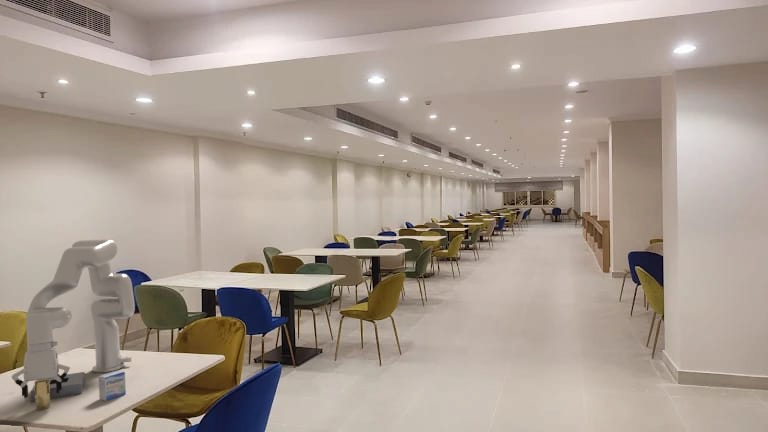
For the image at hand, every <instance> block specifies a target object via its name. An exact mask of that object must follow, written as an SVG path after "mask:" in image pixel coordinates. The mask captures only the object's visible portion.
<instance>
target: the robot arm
mask: <svg viewBox="0 0 768 432" xmlns="http://www.w3.org/2000/svg"><path fill="white" fill-rule="evenodd" d="M117 254H118V245H117V243H116V242H115V241H114V240H112V239H83V240H77V241H75V242H73V244H72V246H71V247H68V248H67V249H65V250H64V251H63V253H62V255H61V258H60V260H59V263H58V267H57V268H56V270H55V273H54V276H53V279H52V280H51V282H49V283H48V284H46V285H45V286H44V287H43V288H42V289H40V291H38V292H37V293H36V294H35V295H34V296H33V298H32V300H31V302H30V304H29V307H28V309H27V312H26V317H25V323H26V326H25V327H26V343H27V345H26V346H27V351H25V355H24V358H23V359H24V362H23V368H22V369H20V370H18V371H17V372H15V373H14V374H12V376H11V379H12V380H13V381H14V383H15V384H16V385H18V386H19V387H20V388H21V396H22V397H23V399H27V398H28V396H29V385H28V383H29V382H32V381H34V382H35V381H36V380H41V379H48V378H55V379H56V380H57V382H56V392H57V393H59V392H60V390H62V379H63V378H64V377H65V376H66V375H67V374H68V373H69V371H70V369H71V368H70V366H68V365H64V364H61V363H59V357H58V351H57V349H56V346H59V345H58V341H54V339H53V330H54V329H61V328H64V327H66V326H67V325H69V323H70V322H71V321H72V312H71V310H69V309H68V308H67V307H61V306H60V307H59V306H58V307H57V306H56V307H53V306H52V307H47V306H48V304H49V303H51V301H53V300H54V299H55V298H57V297H60V296H62V295H64V294H67V293H68V292H71V291H73V290H74V289H76V288H77V287H78V285H79V282H80V279H81V277H82V274H83V270H84V269H85V268H87V270H88V275H89V281H90V286H91V291H92V294H93V295H95V296H98V297H100V298H96V299H94V301H92V303H91V305H90V312H91V316H92V320H93V329H94V347H95V350H94V351H95V365H94V366H92V369H91V370H92V372H93V373H111V372H115V371H119V370H120V369H122V368H124V367H125V363H130V362H132V356H125V357H123V356H122V355H121V351H120V349H121V348H120V345H121V344H120V328H119V325H118V323H117V321H116V320H115V319H117V320H118V319H121V320H122V319H128V318H131V317H132V316H134V314H135V310H136V308H135V307H136V305H135V297H134V290H133V282H132V279H131V278H130V276H129V275H128V274H127V273H113V271H112V269H111V263H110V261H111V260H113V259H114V258H115V257H116V256H117ZM109 296H110V297H109ZM59 370H64V371H63V373H62V374H61V375H60V374H59V372H60V371H59ZM22 374H23V380H22V379H20V378H19V377H20V376H21V375H22Z"/></svg>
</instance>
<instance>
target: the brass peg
mask: <svg viewBox="0 0 768 432" xmlns="http://www.w3.org/2000/svg"><path fill="white" fill-rule="evenodd" d="M34 385H35V401H34V403H35V411H37V412H41V410H42V411H47V410H48V409H50V408H51V399H50V383H49V379H41V380H34Z"/></svg>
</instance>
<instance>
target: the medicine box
mask: <svg viewBox="0 0 768 432" xmlns="http://www.w3.org/2000/svg"><path fill="white" fill-rule="evenodd" d="M126 388H127V386H126V371H123V370H114V371H111V372H108V373H106V374H103V375H99V376H98V394H99V395H98V399H99V400H102V401H105V402H108V401H109V400H113V399H116V398H118V397H121V396H124V395H126V392H127V390H126Z"/></svg>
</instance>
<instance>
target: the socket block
mask: <svg viewBox="0 0 768 432" xmlns="http://www.w3.org/2000/svg"><path fill="white" fill-rule="evenodd" d="M85 378H86V377H85V371H81V372H76V373H69V374H68V373H67V375H66V376H65V377H64V378H63V379H62V390H60V392H59V393H57V392H56V382H57V380H56V379H55V378H48V379H49V383H50V400H52V399H58V398H63V397H70V396H75V395H80V394H81V395H82V393H83V389H84V386H85V384H86V383H85V382H86V379H85ZM30 401H31V403H33V402H34V403H35V384H34V385H33V387H32V389H31V390H30Z"/></svg>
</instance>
